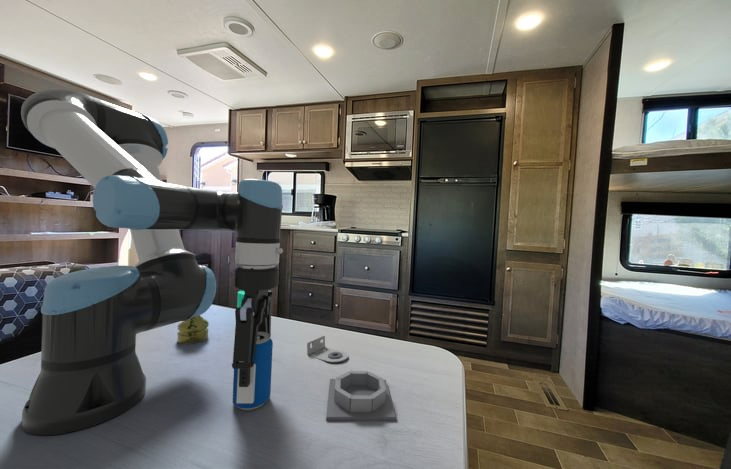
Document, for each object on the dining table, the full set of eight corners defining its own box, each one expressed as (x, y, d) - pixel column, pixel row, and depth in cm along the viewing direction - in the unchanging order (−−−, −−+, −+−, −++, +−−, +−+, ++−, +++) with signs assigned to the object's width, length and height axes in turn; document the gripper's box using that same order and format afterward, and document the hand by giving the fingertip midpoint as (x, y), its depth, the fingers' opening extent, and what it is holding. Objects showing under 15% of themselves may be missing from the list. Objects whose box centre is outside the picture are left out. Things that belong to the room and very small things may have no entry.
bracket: (337, 367, 66) (337, 353, 66) (306, 356, 72) (307, 342, 72) (353, 358, 72) (353, 344, 72) (323, 347, 77) (324, 335, 77)
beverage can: (277, 399, 53) (280, 336, 52) (246, 418, 47) (249, 347, 47) (255, 387, 56) (258, 328, 56) (224, 403, 51) (227, 338, 50)
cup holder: (326, 420, 48) (326, 402, 48) (329, 381, 60) (330, 367, 60) (395, 420, 48) (396, 403, 48) (385, 382, 60) (386, 368, 60)
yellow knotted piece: (200, 332, 83) (202, 298, 83) (213, 338, 78) (214, 303, 78) (172, 339, 77) (173, 303, 77) (184, 347, 72) (185, 308, 72)
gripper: (263, 275, 42) (256, 427, 42) (289, 260, 61) (284, 364, 61) (211, 273, 41) (204, 427, 42) (254, 258, 60) (249, 364, 61)
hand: (252, 389), depth 52 cm, fingers closed on beverage can, 6 cm apart
